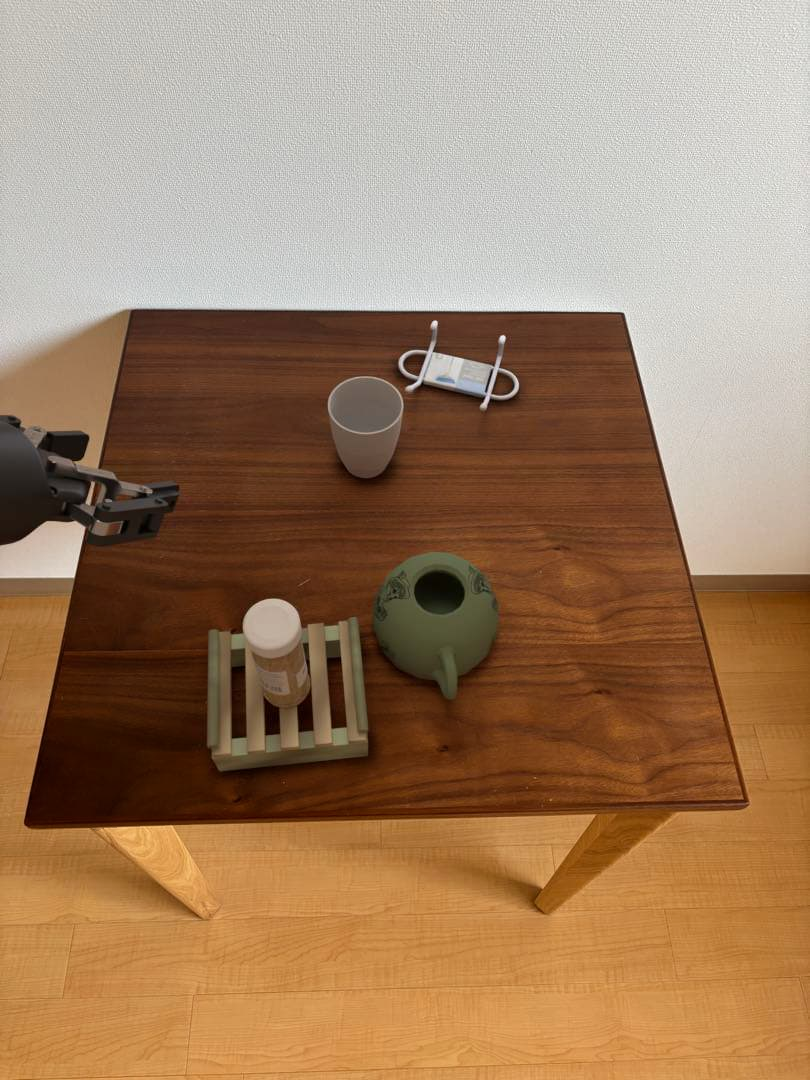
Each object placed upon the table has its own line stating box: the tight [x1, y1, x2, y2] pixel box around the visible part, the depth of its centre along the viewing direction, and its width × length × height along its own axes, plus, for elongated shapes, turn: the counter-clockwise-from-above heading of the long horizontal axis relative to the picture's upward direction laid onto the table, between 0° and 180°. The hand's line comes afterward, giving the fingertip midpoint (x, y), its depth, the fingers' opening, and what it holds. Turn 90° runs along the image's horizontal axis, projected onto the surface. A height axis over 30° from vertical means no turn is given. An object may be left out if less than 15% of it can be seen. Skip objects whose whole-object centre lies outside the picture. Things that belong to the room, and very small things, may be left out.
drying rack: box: [206, 616, 369, 772], centre depth 77 cm, size 14×12×6 cm
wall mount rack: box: [397, 320, 520, 412], centre depth 100 cm, size 16×14×6 cm
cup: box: [327, 375, 404, 479], centre depth 92 cm, size 8×8×10 cm
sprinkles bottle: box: [242, 598, 311, 708], centre depth 70 cm, size 5×5×14 cm
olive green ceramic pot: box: [371, 551, 499, 701], centre depth 80 cm, size 16×13×9 cm
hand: (127, 470), depth 60 cm, fingers open, 8 cm apart
